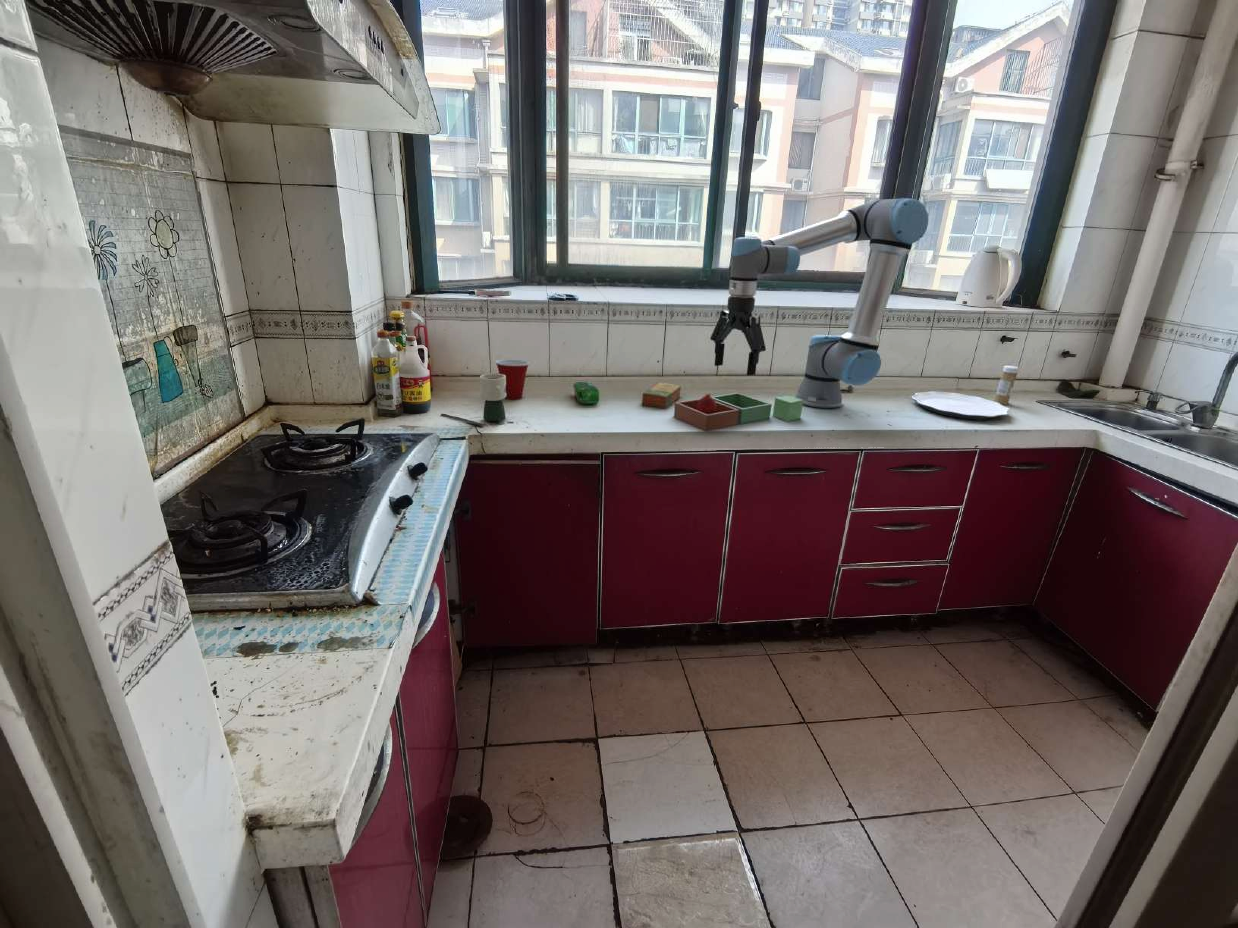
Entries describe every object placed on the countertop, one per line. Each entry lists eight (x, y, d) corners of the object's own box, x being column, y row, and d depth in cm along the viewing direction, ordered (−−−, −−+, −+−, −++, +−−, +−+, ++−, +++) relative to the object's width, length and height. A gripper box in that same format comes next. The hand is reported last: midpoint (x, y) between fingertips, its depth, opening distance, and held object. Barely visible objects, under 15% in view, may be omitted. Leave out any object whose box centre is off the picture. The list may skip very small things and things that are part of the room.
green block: (785, 413, 190) (788, 395, 188) (800, 418, 185) (803, 400, 183) (772, 416, 187) (775, 397, 184) (787, 421, 182) (790, 402, 180)
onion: (714, 422, 176) (717, 396, 173) (695, 420, 177) (697, 394, 174) (715, 417, 181) (718, 391, 178) (696, 415, 182) (699, 389, 179)
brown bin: (704, 411, 188) (706, 397, 186) (737, 424, 177) (739, 409, 175) (673, 416, 181) (674, 402, 179) (705, 430, 170) (707, 415, 168)
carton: (680, 397, 203) (681, 385, 201) (665, 409, 189) (666, 396, 187) (657, 393, 205) (658, 381, 204) (641, 405, 191) (642, 392, 190)
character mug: (513, 424, 168) (512, 379, 163) (489, 427, 165) (487, 381, 160) (499, 413, 177) (498, 370, 172) (476, 416, 173) (474, 372, 168)
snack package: (593, 393, 202) (593, 378, 200) (600, 406, 188) (601, 390, 186) (572, 393, 201) (572, 378, 199) (578, 406, 187) (578, 390, 185)
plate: (967, 426, 185) (969, 419, 184) (892, 401, 210) (894, 394, 209) (1027, 418, 197) (1029, 411, 196) (949, 395, 221) (951, 389, 221)
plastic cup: (534, 394, 198) (534, 359, 193) (522, 403, 188) (522, 365, 183) (504, 391, 200) (503, 356, 195) (491, 399, 190) (489, 362, 185)
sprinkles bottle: (1011, 404, 212) (1022, 368, 207) (1000, 405, 211) (1011, 368, 206) (1000, 401, 216) (1011, 365, 211) (990, 401, 215) (1001, 365, 210)
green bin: (736, 406, 195) (738, 392, 194) (769, 418, 184) (771, 404, 182) (708, 411, 189) (709, 397, 187) (740, 424, 178) (742, 409, 176)
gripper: (702, 291, 175) (697, 362, 183) (765, 302, 156) (756, 380, 164) (721, 290, 178) (715, 360, 187) (784, 300, 159) (774, 377, 168)
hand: (734, 370), depth 175 cm, fingers open, 13 cm apart
